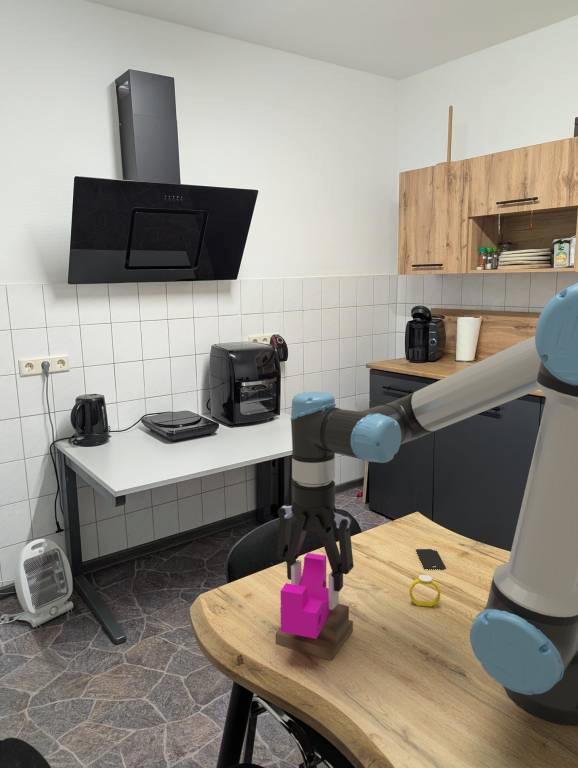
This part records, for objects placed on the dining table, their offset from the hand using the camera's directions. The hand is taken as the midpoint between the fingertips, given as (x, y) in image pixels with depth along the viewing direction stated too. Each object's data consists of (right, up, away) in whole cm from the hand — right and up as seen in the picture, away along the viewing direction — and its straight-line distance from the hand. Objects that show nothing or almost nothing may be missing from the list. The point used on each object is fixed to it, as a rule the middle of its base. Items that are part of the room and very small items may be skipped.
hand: (314, 600), depth 107 cm
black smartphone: (+29, -2, +31) cm, 42 cm away
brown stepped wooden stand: (0, -7, +1) cm, 7 cm away
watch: (+23, -5, +12) cm, 26 cm away
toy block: (-1, -2, -2) cm, 2 cm away
